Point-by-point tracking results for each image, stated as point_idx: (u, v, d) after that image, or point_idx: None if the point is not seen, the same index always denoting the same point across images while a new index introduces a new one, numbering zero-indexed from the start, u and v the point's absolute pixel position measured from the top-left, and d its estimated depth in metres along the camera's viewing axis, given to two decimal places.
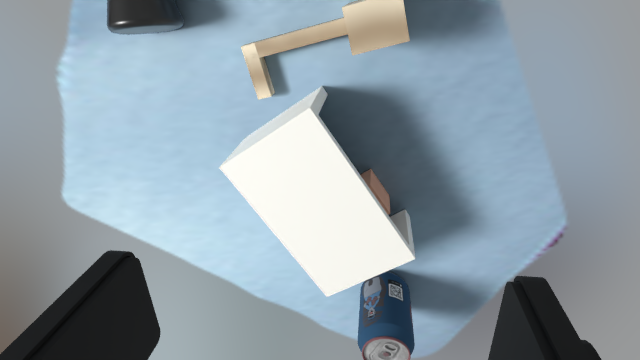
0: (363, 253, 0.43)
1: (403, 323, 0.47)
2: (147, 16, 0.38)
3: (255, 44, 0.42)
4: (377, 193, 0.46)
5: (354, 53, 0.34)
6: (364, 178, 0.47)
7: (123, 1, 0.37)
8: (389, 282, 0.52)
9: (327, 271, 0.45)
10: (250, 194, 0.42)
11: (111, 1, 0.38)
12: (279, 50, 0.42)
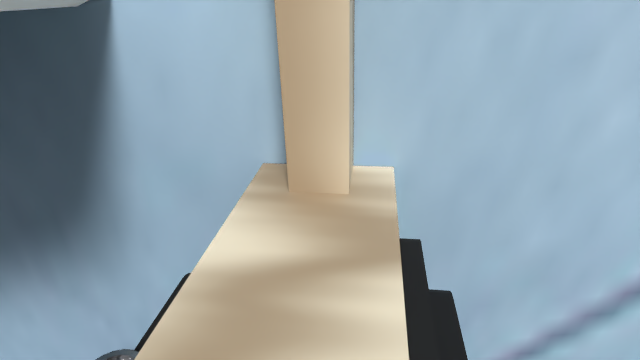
0: None
1: None
2: None
3: None
4: None
5: None
6: None
7: None
8: None
9: None
10: None
11: None
12: None
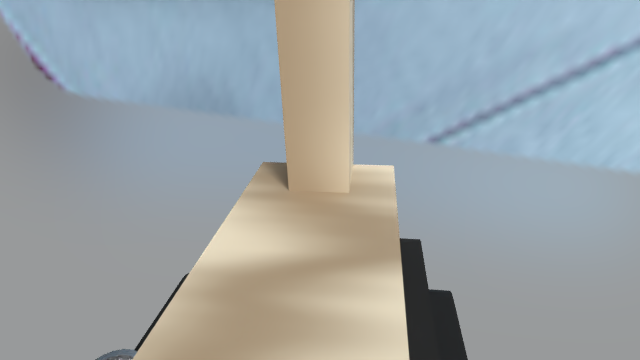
0: None
1: None
2: None
3: None
4: None
5: None
6: None
7: None
8: None
9: None
10: None
11: None
12: None
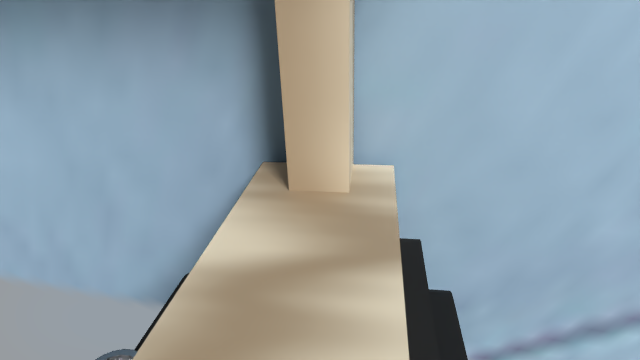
0: None
1: None
2: None
3: None
4: None
5: None
6: None
7: None
8: None
9: None
10: None
11: None
12: None
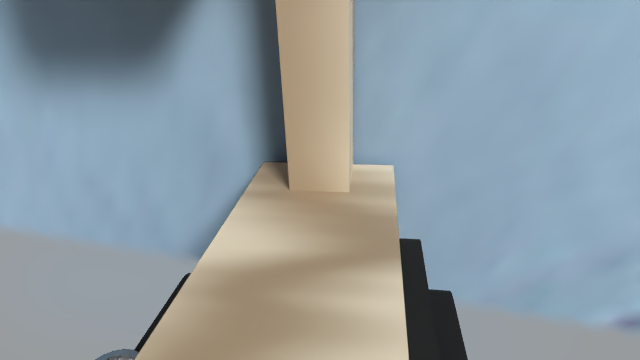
0: None
1: None
2: None
3: None
4: None
5: None
6: None
7: None
8: None
9: None
10: None
11: None
12: None
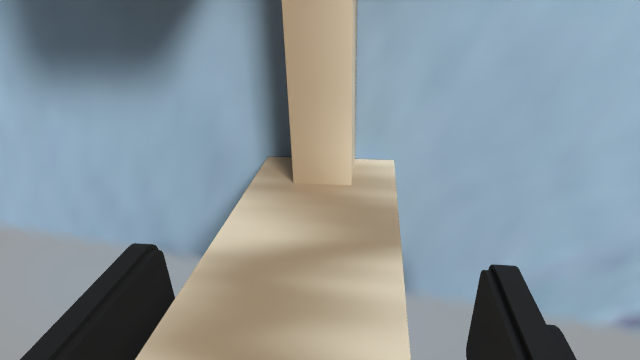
0: None
1: None
2: None
3: None
4: None
5: None
6: None
7: None
8: None
9: None
10: None
11: None
12: None
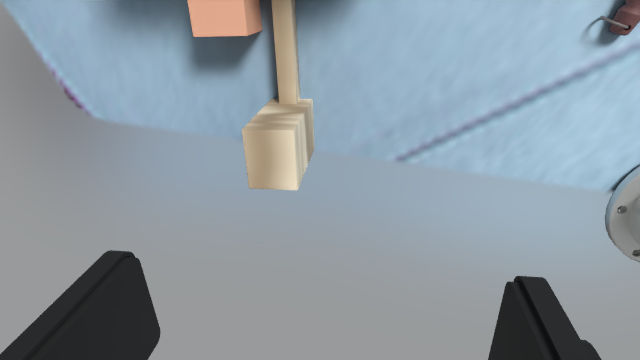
0: None
1: None
2: None
3: None
4: None
5: (243, 132, 0.29)
6: (255, 21, 0.32)
7: None
8: None
9: None
10: None
11: None
12: (274, 5, 0.32)
